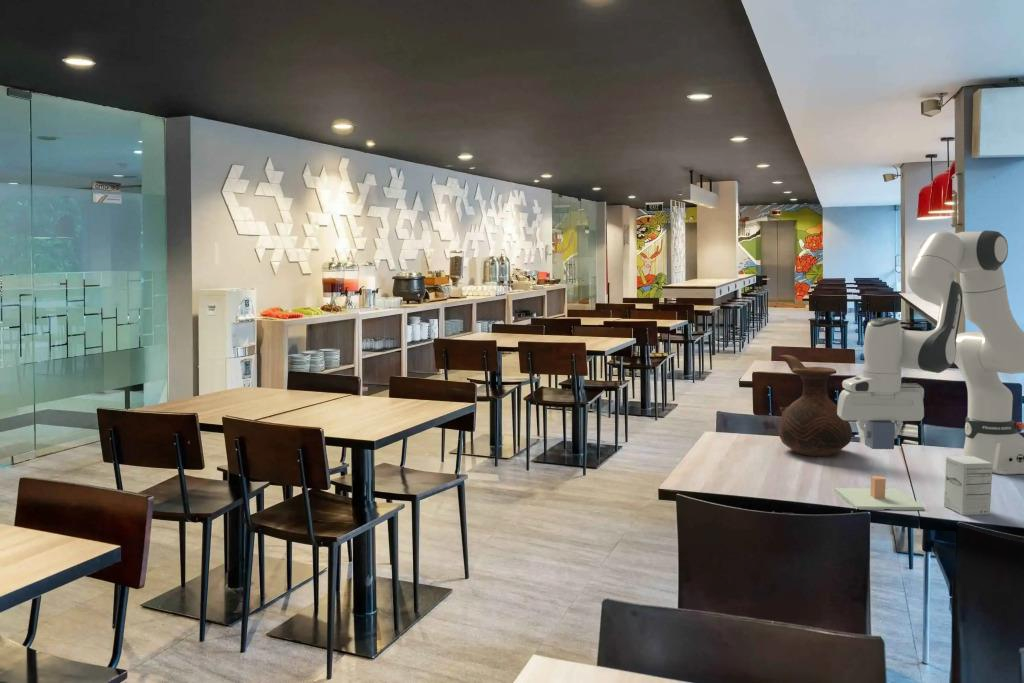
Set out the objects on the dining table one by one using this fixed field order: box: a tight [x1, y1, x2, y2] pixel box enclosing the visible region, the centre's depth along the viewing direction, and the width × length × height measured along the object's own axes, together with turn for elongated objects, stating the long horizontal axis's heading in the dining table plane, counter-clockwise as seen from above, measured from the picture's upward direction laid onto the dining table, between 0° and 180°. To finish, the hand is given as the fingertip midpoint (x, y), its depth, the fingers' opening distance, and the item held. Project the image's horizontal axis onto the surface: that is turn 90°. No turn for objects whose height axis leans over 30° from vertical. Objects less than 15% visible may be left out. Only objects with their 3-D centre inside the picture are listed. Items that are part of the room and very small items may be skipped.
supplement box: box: [943, 455, 993, 516], centre depth 196 cm, size 7×7×13 cm
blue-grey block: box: [864, 420, 895, 450], centre depth 204 cm, size 5×5×7 cm
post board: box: [834, 475, 925, 511], centre depth 205 cm, size 16×16×6 cm
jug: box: [777, 354, 853, 457], centre depth 256 cm, size 22×22×30 cm
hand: (879, 437), depth 204 cm, fingers closed on blue-grey block, 5 cm apart
